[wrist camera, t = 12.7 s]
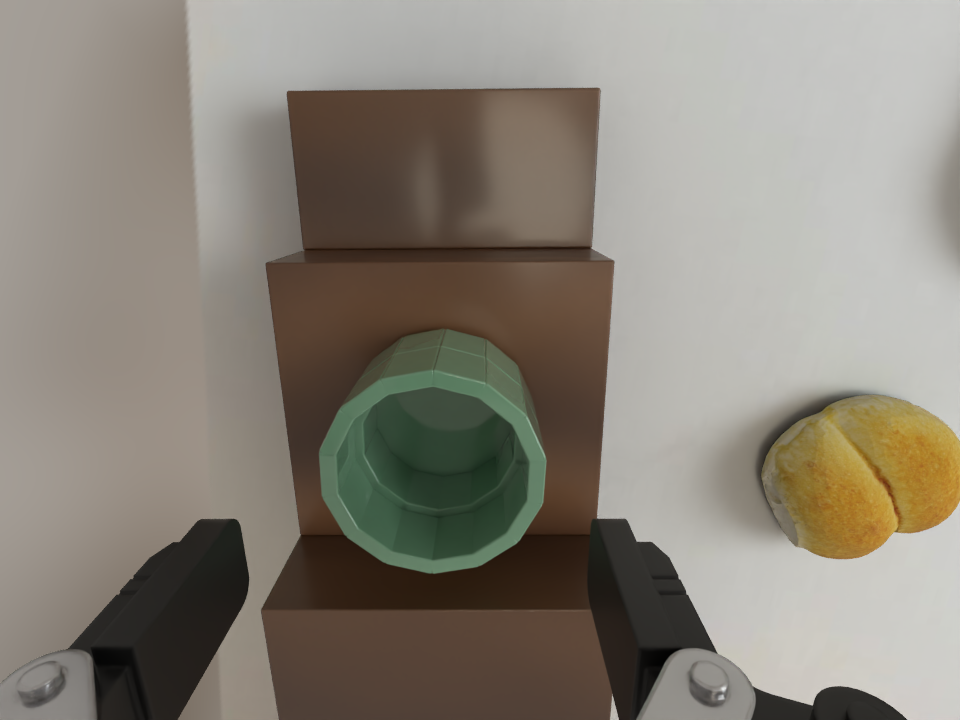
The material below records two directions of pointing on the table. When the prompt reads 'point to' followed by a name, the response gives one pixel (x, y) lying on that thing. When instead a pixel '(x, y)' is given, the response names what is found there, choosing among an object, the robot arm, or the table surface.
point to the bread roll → (862, 475)
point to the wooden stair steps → (463, 308)
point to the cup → (435, 454)
